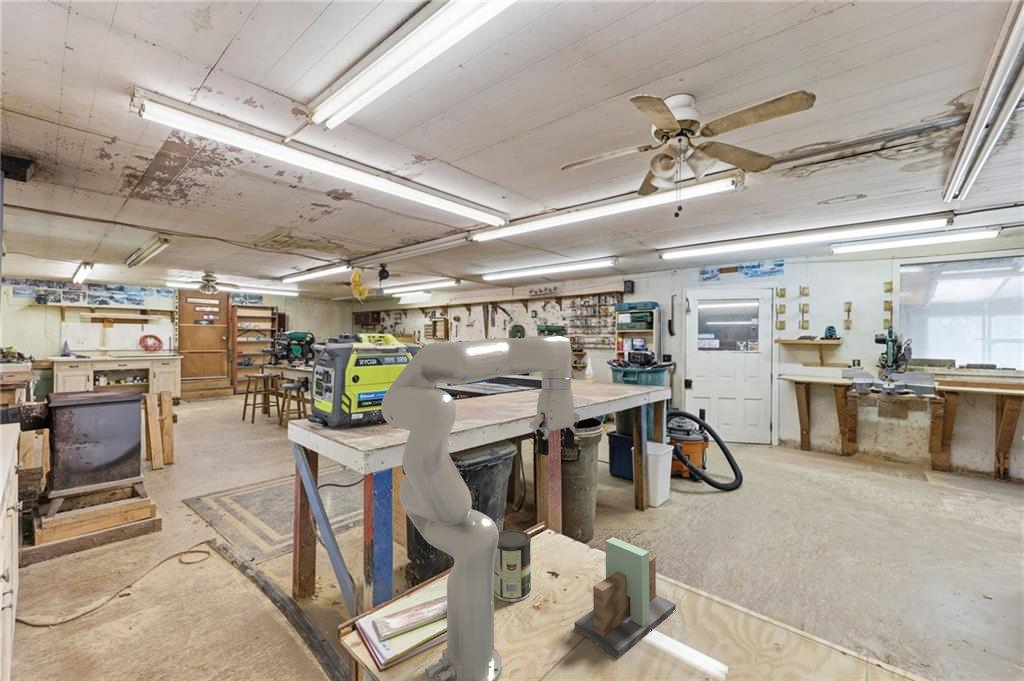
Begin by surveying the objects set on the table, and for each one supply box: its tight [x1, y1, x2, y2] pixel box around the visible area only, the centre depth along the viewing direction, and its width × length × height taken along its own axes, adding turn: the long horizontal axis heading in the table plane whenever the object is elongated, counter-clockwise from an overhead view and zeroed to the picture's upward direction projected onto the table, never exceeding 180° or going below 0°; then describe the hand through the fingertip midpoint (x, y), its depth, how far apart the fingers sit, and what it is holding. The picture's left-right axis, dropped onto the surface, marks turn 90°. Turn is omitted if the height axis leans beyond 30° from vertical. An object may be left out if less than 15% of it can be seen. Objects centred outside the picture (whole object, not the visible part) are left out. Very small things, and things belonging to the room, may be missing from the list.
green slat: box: [605, 537, 650, 627], centre depth 99 cm, size 3×10×16 cm, turn 42°
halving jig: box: [574, 554, 677, 659], centre depth 100 cm, size 24×12×12 cm, turn 131°
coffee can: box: [494, 529, 532, 603], centre depth 111 cm, size 10×10×14 cm
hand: (556, 451), depth 107 cm, fingers open, 9 cm apart
